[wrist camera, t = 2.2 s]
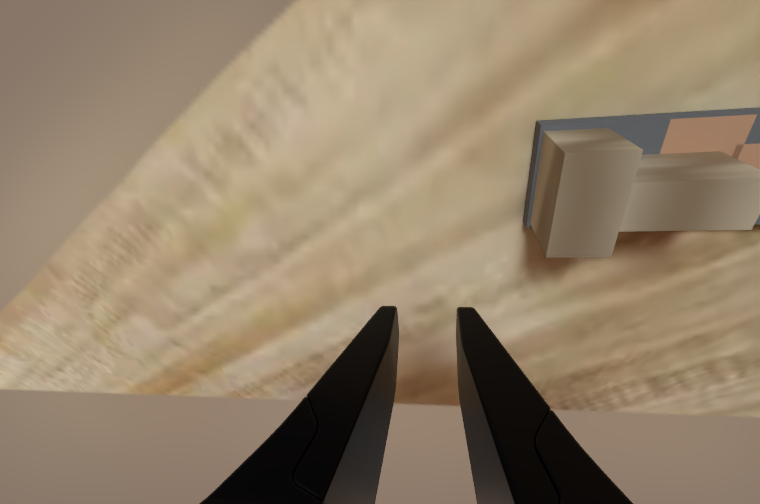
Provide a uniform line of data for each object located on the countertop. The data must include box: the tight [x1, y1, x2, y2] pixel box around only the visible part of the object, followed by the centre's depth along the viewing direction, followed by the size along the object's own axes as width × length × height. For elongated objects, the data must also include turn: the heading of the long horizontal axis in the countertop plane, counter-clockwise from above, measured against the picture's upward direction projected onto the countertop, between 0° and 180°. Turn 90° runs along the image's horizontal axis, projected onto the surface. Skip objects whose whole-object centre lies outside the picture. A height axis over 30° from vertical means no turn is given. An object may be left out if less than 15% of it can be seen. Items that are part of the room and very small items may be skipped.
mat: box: [523, 108, 760, 228], centre depth 16 cm, size 13×5×1 cm, turn 95°
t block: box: [530, 128, 760, 258], centre depth 15 cm, size 7×4×3 cm, turn 95°
